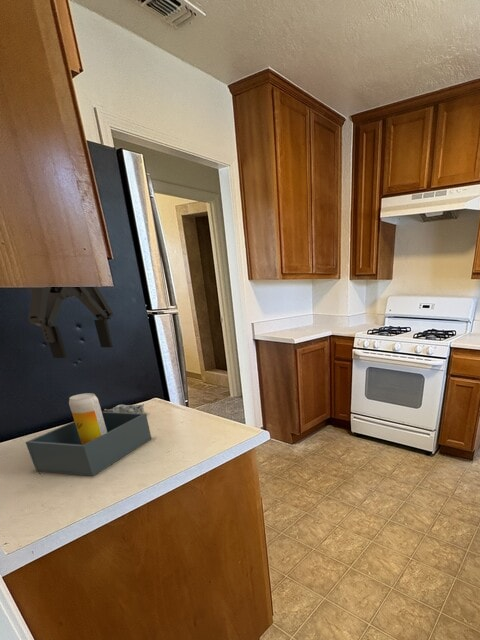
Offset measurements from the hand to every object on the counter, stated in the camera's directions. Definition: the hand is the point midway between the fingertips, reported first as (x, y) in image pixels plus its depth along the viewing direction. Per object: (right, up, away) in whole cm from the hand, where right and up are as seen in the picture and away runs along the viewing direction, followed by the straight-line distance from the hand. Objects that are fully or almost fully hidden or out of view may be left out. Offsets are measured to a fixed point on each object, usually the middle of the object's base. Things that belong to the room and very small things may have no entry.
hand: (85, 352), depth 82 cm
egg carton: (-10, -14, +36) cm, 40 cm away
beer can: (-3, -24, +10) cm, 26 cm away
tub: (-3, -24, +10) cm, 26 cm away
